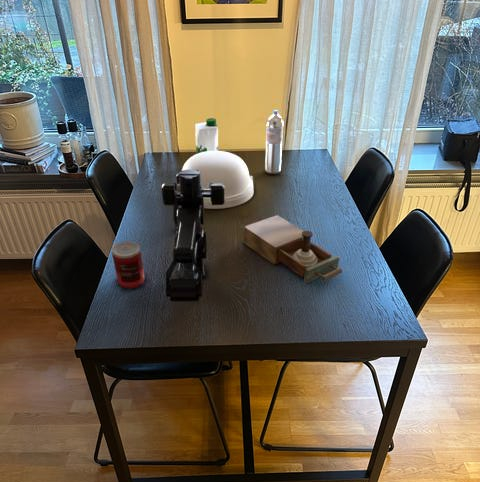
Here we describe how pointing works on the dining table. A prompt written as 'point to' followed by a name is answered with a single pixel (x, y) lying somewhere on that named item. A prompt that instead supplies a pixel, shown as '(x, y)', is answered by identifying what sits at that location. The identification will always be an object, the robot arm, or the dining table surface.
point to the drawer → (313, 272)
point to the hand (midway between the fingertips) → (195, 184)
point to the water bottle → (274, 144)
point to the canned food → (128, 264)
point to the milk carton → (206, 136)
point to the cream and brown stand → (306, 251)
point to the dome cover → (223, 176)
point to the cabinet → (271, 236)
